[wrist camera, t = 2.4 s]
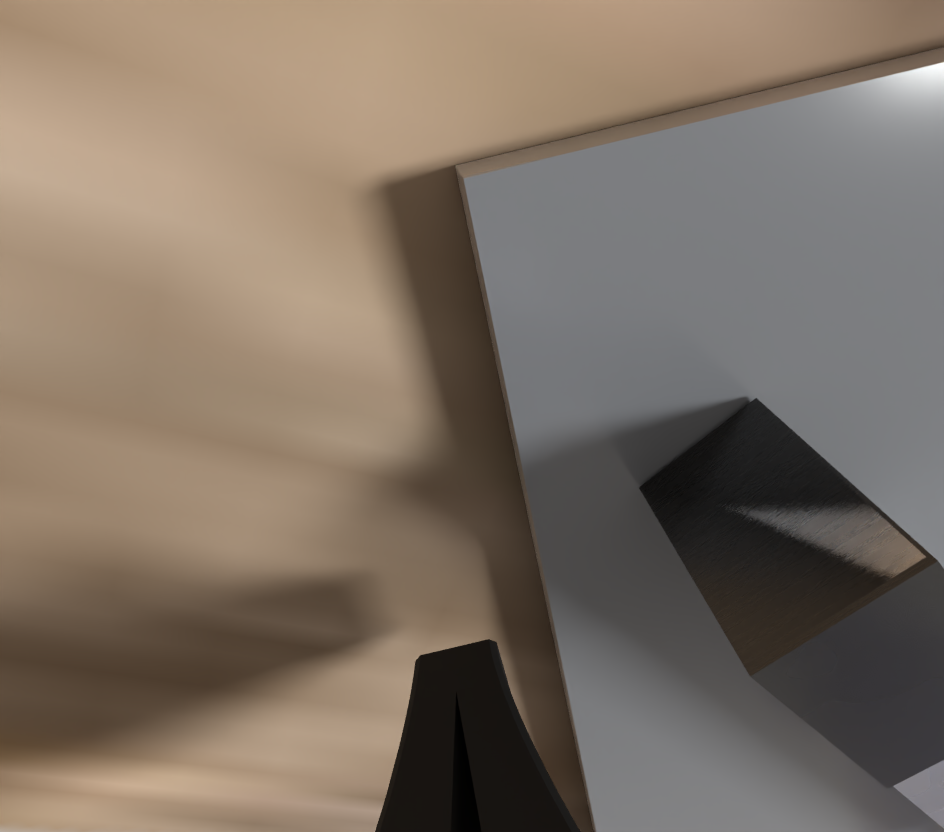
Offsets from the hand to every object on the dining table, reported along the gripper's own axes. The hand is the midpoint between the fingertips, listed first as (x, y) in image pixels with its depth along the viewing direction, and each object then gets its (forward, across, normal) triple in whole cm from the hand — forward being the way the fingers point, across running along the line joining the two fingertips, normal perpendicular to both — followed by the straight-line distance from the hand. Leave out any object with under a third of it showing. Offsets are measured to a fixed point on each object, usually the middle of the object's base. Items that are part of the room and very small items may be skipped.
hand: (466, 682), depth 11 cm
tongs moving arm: (+1, -9, +4) cm, 10 cm away
